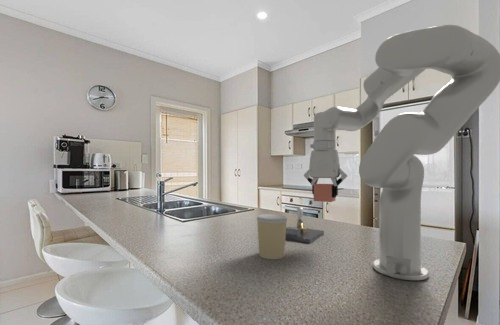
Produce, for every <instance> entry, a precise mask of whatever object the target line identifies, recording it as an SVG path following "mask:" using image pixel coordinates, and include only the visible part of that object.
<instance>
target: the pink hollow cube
mask: <svg viewBox="0 0 500 325" xmlns="http://www.w3.org/2000/svg"><path fill="white" fill-rule="evenodd" d="M332 186H333V183H317V184H314V196H313V201H314V202H322V203H323V202H324V203H332V202H335V201H336V200H337V199H336V197H335V198H333V197H332Z"/></svg>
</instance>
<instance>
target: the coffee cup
mask: <svg viewBox="0 0 500 325" xmlns="http://www.w3.org/2000/svg"><path fill="white" fill-rule="evenodd" d="M256 221H257V239H258V241H257V243H258V253H259V254H258V255H259V257H261V258H263V259H266V260H279V259H282V258H284V257H285V248H286V247H285V246H286V239H285V237H286V228H287V222H288V219H287V216H286V215H284V214H277V213H261V214H259V215H258V216H257V218H256Z"/></svg>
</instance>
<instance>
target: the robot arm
mask: <svg viewBox="0 0 500 325" xmlns="http://www.w3.org/2000/svg"><path fill="white" fill-rule="evenodd" d="M374 58H375V59H374V60H375V61H374V62H375V64H376V65H377V69H376V70H374V71H373V72H371V74H370V75H369V76H367V77H366V79H365V80H364V81H363V89H364V92H365V94H366V95H367V98H366V99H365V100H364V101H363V102H362V103H361V104H359V105H358V106H357V107H356V108H355V109H354V108H349V107H343V106H331V107H329V108H327V109H326V110H325V111H320V112H317V113H315V114H314V115H313V143H312V144H311V143H310V144H309V147H310V149H313V150H311V152H310V156H309V166H308V168H309V169H308V170H307V171H306V172H305V173H304V174H303V177H304V178H305V179H306V180H307V182H308V183H310V185H311V188H312V189H311V194H312V195H313V197H314V184H318V180H319V179H331V183H332V184H333V186H332V197H333V198H335V199H336V198H337V196H338V195H339V194H338V193H339V192H338V191H339V188H338V187H339V185H340V184H341V183H342V182H343V181H344V180H345V179H347V177H348V175H347V173H345V172H344V170H342V168H341V167H340V166H341V165H340V158H339V152H338V150H337V149H336V131H346V132H356V131H359V130H361V129H363V128H365V126H367V125H368V124H370V123H371V122H373V121H374V120H375V119H376V118H377V117H378V116H379V115H380V112H381V111H382V109H383V107H384V104H385V102H386V101H387V100H388V99H389V98H391V97H392V96H393V95H394V94H396V93H397V92H399V91H400V90H401V89H403V87H405V86H407V85H408V84H409V83H410V82H411V81H413V80H414V79H416V78H417V77H419V76H420V75H421V74H422V73H423V72H425V70H427V69H428V70H429V69H431V70H435V71H438V72H441V73H443V74H446V75H449V76H450V77H451V80H450V81H449V82H448V83H447V84H446V85H444V86H443V87H442V88H441V89H440V90H438V91H437V92H436V93H435V94H434V95H433V97H432V98H431V99H430V101H429V103H428V104H426V106H424V108H423V109H422V111H421V112H414V111H412V112H411V111H410V112H408V111H407V112H403V113H400V114H397V115H396V116H394V117H393V118H391V119H390V120H389V121H388V122H386V124H385V125H384V126H383V127H382V129H381V130H380V131H379V133H378V134H377V136H376V138H375V139H374V140H373V142H372V143H371V144H370V146H369V147H368V149H367V150H366V152H365V153H364V154H363V157H362V158H361V160H360V162H359V167H358V174H359V177H360V179H361V181H363V183H364V184H365V185H367V186H369V187H372V188H377V189H382V190H381V192H380V196H379V202H378V204H379V207H378V208H379V209H378V210H379V213H378V214H379V216H378V220H379V222H378V223H379V225H378V227H379V228H378V230H379V231H378V232H379V233H378V234H379V238H378V239H379V243H378V244H379V246H378V247H379V248H378V249H379V257H378V259H375V260H373V261H372V264H373V265H372V267H373V268H374V269H375V270H374V271H376V272H378V273H380V274H382V275H384V276H388V277H391V278H393V279H398V280H404V281H422V280H426V279H427V278H428V277H429V271H428V269H426V267H424V266H422V247H421V246H422V238H421V236H422V232H421V231H422V230H421V229H422V228H421V226H422V225H421V223H422V222H421V221H422V220H421V217H422V216H421V214H422V213H421V209H422V208H421V202H422V201H421V200H422V192H423V191H422V189H423V185H424V178H425V168H424V165H423V162H422V161H421V160H420V158H419V157H417V156H416V155H420V156H423V155H424V156H428V155H434V154H437V153H438V152H440V151H441V150H443V148H444V147H446V145H447V144H448V143H449V142H450V140H452V139H453V137H454V136H455V135H456V134H457V133H458V132H459V131H460V130H461V129H462V127H463V126H465V124H466V123H467V121H468V120H469V119H470V118H471V117H472V115H473V114H474V113H475V112H476V111H477V110H478V109H479V108H480V106H482V104H484V102H485V101H486V100H487V99H488V98H489V96H491V94H492V93H493V92H494V91H495V89H496V88H497V87H498V85H499V84H500V52H499V51H498V49H497V48H496V47H495V45H493V44H492V43H491V42H489V41H488V40H486V39H485V38H483V37H482V36H480V35H478V34H476V33H474V32H472V31H470V30H469V29H467V28H465V27H462V26H459V25H456V24H443V25H438V26H436V25H435V26H430V27H425V28H421V29H416V30H415V29H414V30H408V31H404V32H399V33H397V34H394V35H392V36H390V37H388V38H386V39H385V40H384V41H383V42H382V43H381V44H380V45H379V47H378V48H377V50H376V52H375V57H374Z"/></svg>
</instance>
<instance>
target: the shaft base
mask: <svg viewBox="0 0 500 325" xmlns="http://www.w3.org/2000/svg"><path fill="white" fill-rule="evenodd" d="M324 235H325V231H324V230H319V229H313V228H309V227H308V226H304V208H303V207H301V206H298V207H296V225H294V226H286V237H285V241H286V240H287V241H291V242H292V241H294V242H299V243H304V244H312V243H314V242H315V241H316V240H318V239H319V238H321V237H322V236H324Z"/></svg>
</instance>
